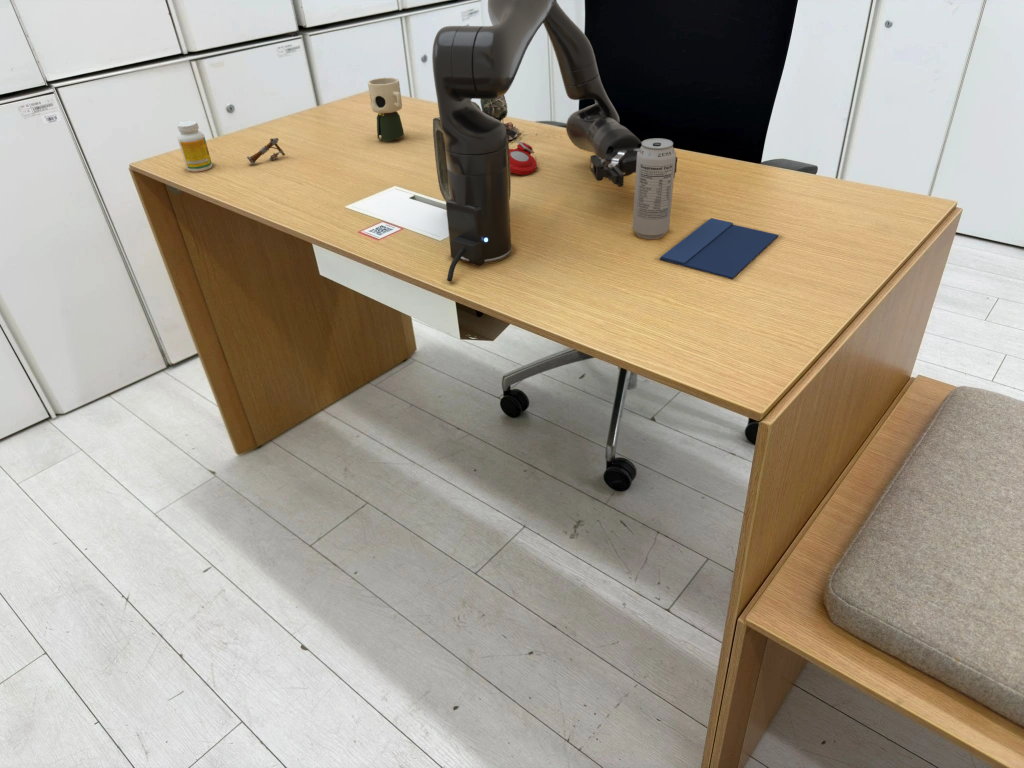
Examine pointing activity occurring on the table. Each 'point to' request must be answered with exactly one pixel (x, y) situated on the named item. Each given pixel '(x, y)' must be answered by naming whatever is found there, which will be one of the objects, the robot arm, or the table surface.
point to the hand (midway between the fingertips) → (646, 178)
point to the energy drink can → (653, 188)
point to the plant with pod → (499, 113)
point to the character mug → (386, 107)
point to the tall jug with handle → (442, 162)
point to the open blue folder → (719, 248)
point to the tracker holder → (522, 159)
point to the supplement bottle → (193, 147)
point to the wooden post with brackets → (264, 150)
